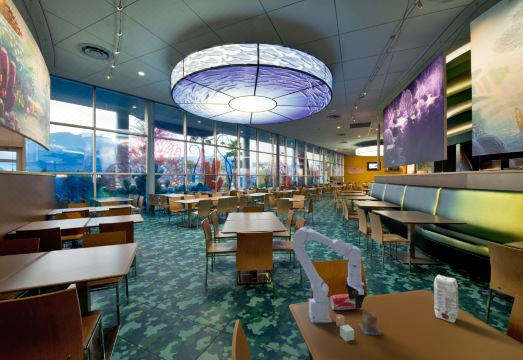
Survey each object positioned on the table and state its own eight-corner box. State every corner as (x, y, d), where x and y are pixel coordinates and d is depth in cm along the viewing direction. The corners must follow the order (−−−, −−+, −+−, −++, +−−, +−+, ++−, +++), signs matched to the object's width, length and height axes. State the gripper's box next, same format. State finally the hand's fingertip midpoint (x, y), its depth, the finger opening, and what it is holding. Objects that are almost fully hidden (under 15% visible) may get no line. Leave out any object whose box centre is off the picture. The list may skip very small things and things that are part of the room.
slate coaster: (365, 334, 102) (365, 333, 102) (358, 325, 109) (358, 323, 109) (381, 334, 102) (381, 333, 102) (373, 324, 109) (373, 323, 109)
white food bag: (456, 324, 108) (455, 283, 109) (433, 317, 115) (432, 277, 115) (459, 318, 113) (458, 278, 114) (437, 311, 120) (436, 273, 120)
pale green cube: (345, 341, 97) (345, 331, 98) (340, 335, 101) (339, 326, 101) (354, 339, 99) (354, 330, 99) (348, 333, 102) (348, 324, 102)
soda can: (351, 296, 129) (328, 297, 128) (355, 291, 123) (331, 293, 123) (356, 310, 124) (331, 312, 123) (360, 306, 119) (334, 308, 118)
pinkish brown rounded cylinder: (337, 327, 107) (337, 318, 107) (334, 323, 110) (334, 314, 110) (345, 327, 107) (345, 318, 107) (342, 323, 110) (342, 314, 110)
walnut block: (366, 331, 103) (366, 317, 103) (362, 325, 107) (362, 311, 107) (377, 331, 103) (376, 317, 103) (372, 325, 107) (372, 311, 107)
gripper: (370, 279, 102) (371, 311, 101) (356, 267, 116) (357, 295, 116) (354, 280, 102) (354, 311, 101) (342, 268, 116) (342, 295, 116)
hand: (355, 303), depth 109 cm, fingers open, 7 cm apart
